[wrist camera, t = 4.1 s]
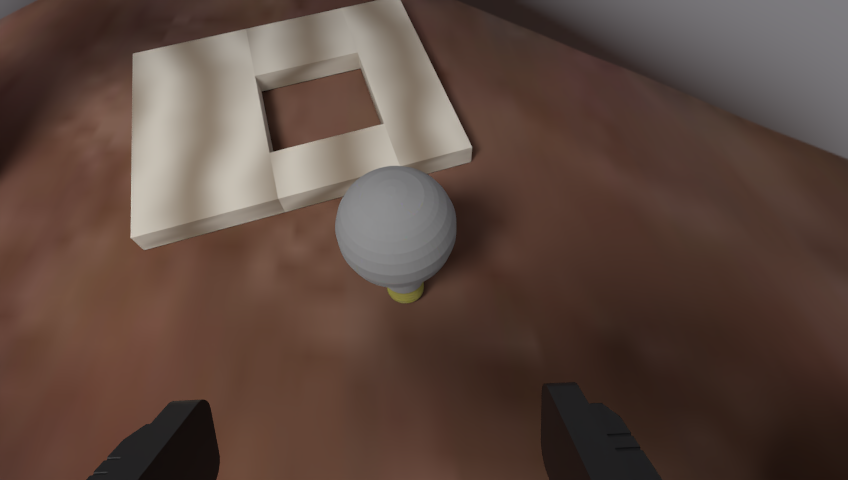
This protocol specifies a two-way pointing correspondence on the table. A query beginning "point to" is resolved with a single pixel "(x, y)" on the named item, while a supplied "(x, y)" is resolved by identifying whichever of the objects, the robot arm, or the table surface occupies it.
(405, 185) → the light bulb
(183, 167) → the cream board with hole
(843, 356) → the table surface
